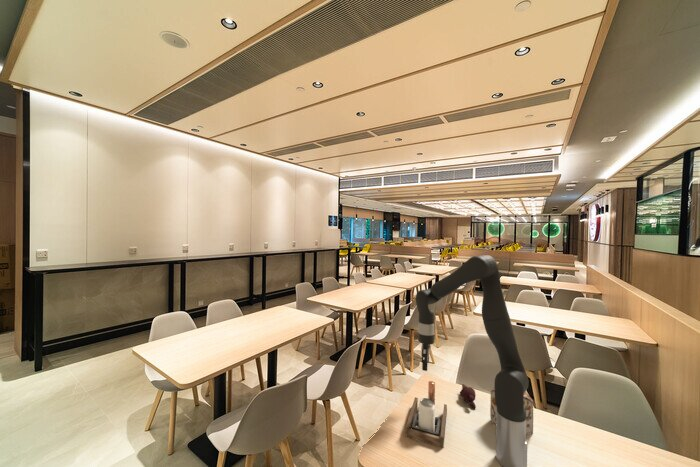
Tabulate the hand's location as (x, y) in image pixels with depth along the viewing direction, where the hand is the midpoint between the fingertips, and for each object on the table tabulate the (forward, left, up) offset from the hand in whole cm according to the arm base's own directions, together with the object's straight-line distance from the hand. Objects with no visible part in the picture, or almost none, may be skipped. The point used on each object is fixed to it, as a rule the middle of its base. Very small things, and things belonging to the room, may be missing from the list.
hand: (425, 366), depth 130 cm
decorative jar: (-35, -2, -20) cm, 41 cm away
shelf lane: (-2, +11, -20) cm, 23 cm away
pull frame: (-2, +8, -19) cm, 21 cm away
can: (-2, +15, -20) cm, 25 cm away
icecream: (-19, -15, -20) cm, 31 cm away
